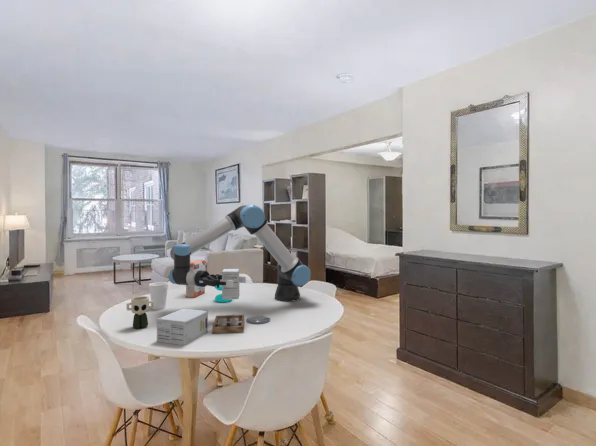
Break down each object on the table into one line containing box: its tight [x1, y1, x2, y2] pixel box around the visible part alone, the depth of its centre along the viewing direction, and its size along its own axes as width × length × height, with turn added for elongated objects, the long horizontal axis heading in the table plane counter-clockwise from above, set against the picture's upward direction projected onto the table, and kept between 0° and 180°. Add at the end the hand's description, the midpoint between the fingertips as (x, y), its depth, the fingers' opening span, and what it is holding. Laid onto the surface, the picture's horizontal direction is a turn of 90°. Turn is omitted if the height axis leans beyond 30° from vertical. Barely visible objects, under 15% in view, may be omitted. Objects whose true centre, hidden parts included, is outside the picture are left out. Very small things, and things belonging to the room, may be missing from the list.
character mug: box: [126, 295, 153, 329], centre depth 160 cm, size 11×7×13 cm, turn 114°
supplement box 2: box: [221, 268, 241, 300], centre depth 164 cm, size 7×7×13 cm
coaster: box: [245, 315, 271, 325], centre depth 170 cm, size 11×11×1 cm
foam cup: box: [148, 281, 169, 311], centre depth 192 cm, size 10×9×13 cm
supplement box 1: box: [156, 308, 209, 346], centre depth 148 cm, size 17×13×9 cm
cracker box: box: [185, 259, 206, 299], centre depth 221 cm, size 14×6×21 cm, turn 168°
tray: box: [211, 314, 245, 335], centre depth 161 cm, size 13×18×5 cm
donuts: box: [214, 285, 233, 303], centre depth 208 cm, size 10×10×10 cm
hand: (239, 281), depth 162 cm, fingers closed on supplement box 2, 9 cm apart
